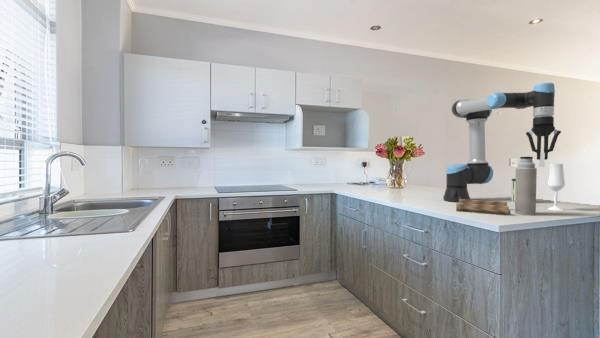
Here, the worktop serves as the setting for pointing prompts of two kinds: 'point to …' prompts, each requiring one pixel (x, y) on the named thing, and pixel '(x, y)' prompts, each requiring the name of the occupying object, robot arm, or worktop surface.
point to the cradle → (482, 207)
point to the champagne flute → (556, 182)
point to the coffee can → (513, 189)
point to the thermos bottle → (525, 187)
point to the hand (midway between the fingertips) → (541, 166)
